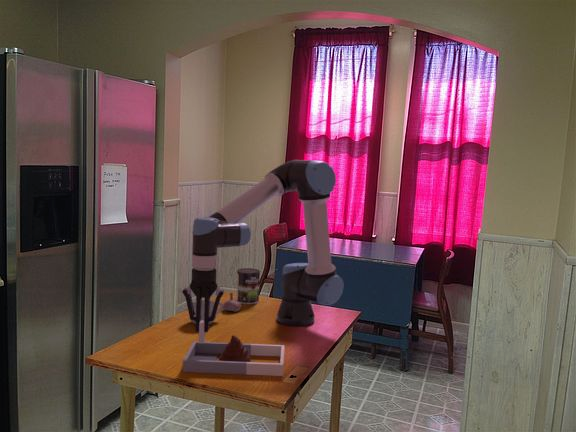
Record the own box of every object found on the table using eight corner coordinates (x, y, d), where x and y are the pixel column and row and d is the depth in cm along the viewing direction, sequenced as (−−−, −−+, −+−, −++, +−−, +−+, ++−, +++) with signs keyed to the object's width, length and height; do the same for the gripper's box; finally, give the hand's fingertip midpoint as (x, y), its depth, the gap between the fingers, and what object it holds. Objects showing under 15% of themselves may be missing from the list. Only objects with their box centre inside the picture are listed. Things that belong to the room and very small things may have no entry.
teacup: (191, 329, 191) (192, 308, 190) (185, 320, 201) (185, 300, 200) (227, 325, 196) (228, 305, 196) (219, 316, 206) (220, 297, 205)
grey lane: (182, 371, 153) (182, 360, 153) (193, 351, 169) (193, 341, 169) (246, 374, 153) (246, 363, 152) (250, 354, 169) (251, 343, 168)
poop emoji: (219, 370, 155) (220, 340, 154) (217, 359, 164) (218, 331, 163) (252, 368, 158) (253, 339, 156) (248, 357, 166) (249, 330, 165)
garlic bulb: (219, 310, 215) (219, 291, 214) (233, 307, 220) (233, 289, 219) (230, 314, 210) (230, 295, 209) (244, 311, 215) (244, 292, 214)
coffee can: (263, 302, 228) (264, 271, 226) (242, 305, 223) (243, 274, 221) (252, 297, 237) (253, 267, 235) (232, 299, 231) (232, 269, 230)
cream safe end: (246, 374, 153) (246, 363, 152) (250, 354, 169) (251, 343, 168) (282, 376, 153) (283, 364, 152) (284, 355, 169) (284, 345, 168)
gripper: (226, 266, 161) (224, 338, 164) (185, 264, 161) (183, 336, 164) (223, 271, 154) (220, 347, 156) (180, 269, 154) (178, 345, 156)
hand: (201, 341), depth 160 cm, fingers closed
